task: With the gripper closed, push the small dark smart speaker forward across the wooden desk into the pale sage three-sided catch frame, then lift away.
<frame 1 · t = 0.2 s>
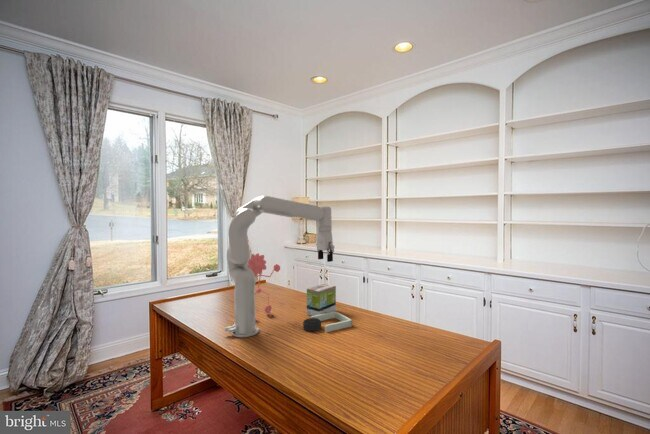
hand: (325, 260, 172), 31 cm above the table, tool pointing down, fingers open, 9 cm apart
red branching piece: (257, 316, 175), on the table
tea box: (321, 313, 179), on the table
smart speaker: (312, 329, 156), on the table
catch frame: (331, 323, 161), on the table
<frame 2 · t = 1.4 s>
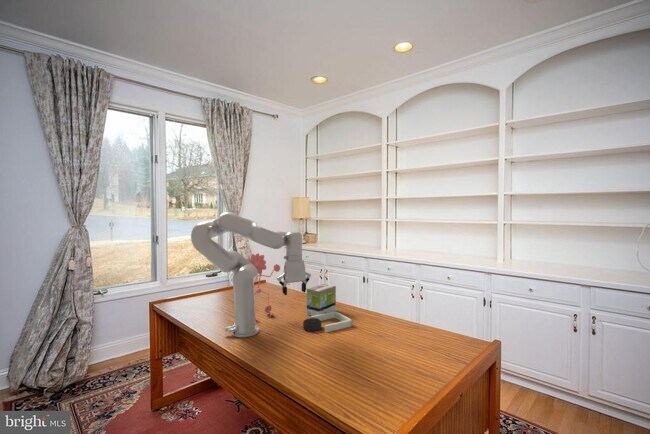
hand: (294, 293, 152), 19 cm above the table, tool pointing down, fingers open, 9 cm apart
nothing on the table moved.
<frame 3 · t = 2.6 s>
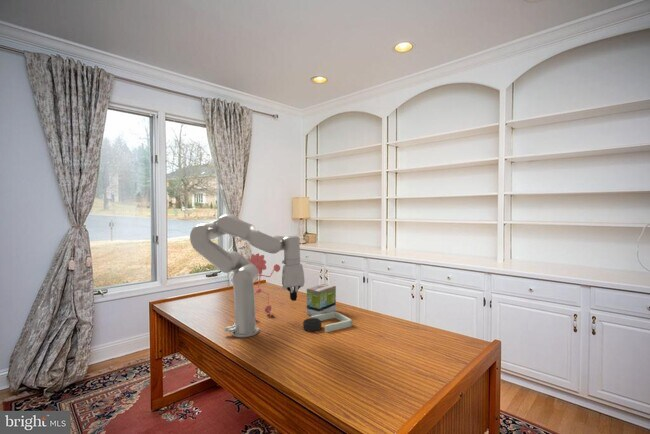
hand: (293, 300, 150), 16 cm above the table, tool pointing down, fingers closed
nothing on the table moved.
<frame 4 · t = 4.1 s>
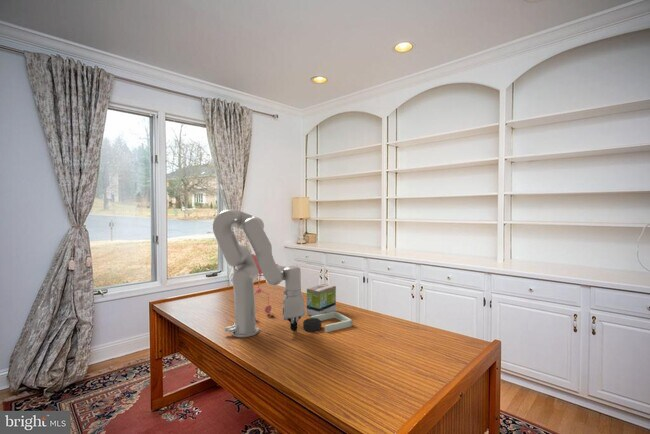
hand: (294, 330, 151), 1 cm above the table, tool pointing down, fingers closed
nothing on the table moved.
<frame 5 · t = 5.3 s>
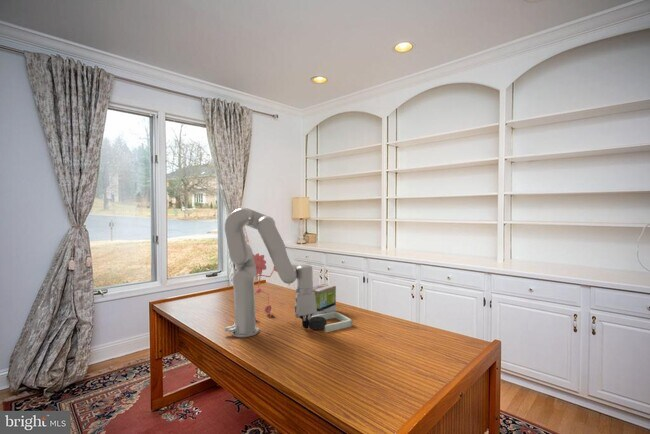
hand: (305, 327, 154), 1 cm above the table, tool pointing down, fingers closed
smart speaker: (317, 327, 157), on the table, touching gripper
everything else where it was.
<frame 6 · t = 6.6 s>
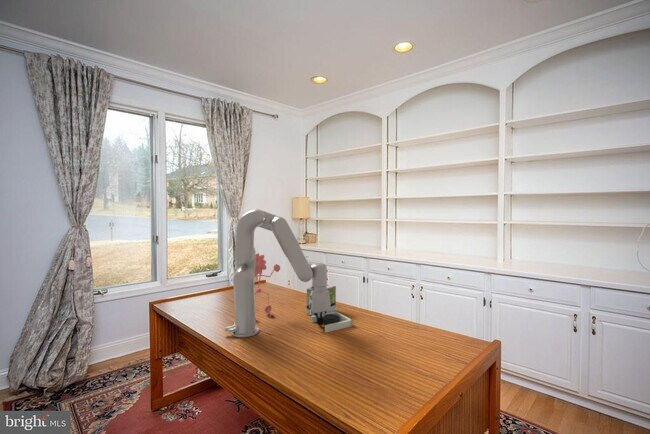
hand: (320, 324, 158), 1 cm above the table, tool pointing down, fingers closed
smart speaker: (331, 324, 161), on the table
everything else where it was.
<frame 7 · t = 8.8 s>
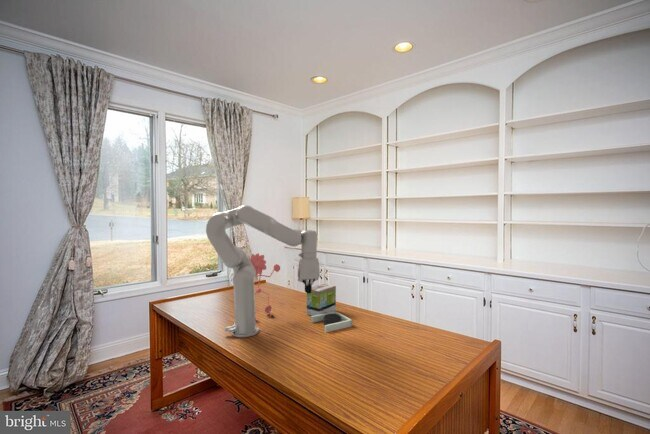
hand: (308, 292, 155), 18 cm above the table, tool pointing down, fingers closed
nothing on the table moved.
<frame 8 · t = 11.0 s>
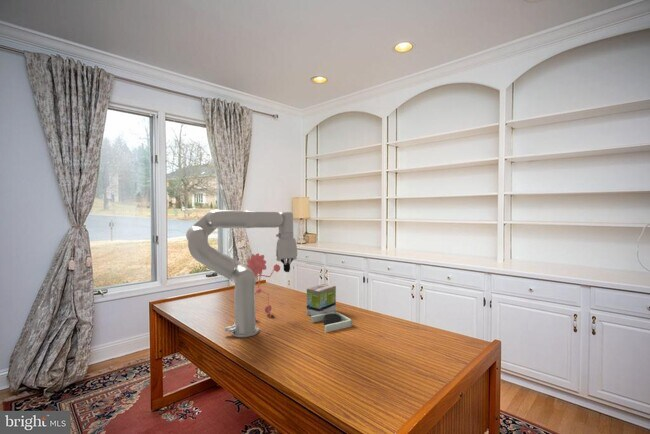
hand: (286, 271, 161), 27 cm above the table, tool pointing down, fingers closed
nothing on the table moved.
at the end: smart speaker inside the target area on the catch frame (0.5 cm from its centre), point 0.0 cm above the catch frame's base; smart speaker moved 11.6 cm from its start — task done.
